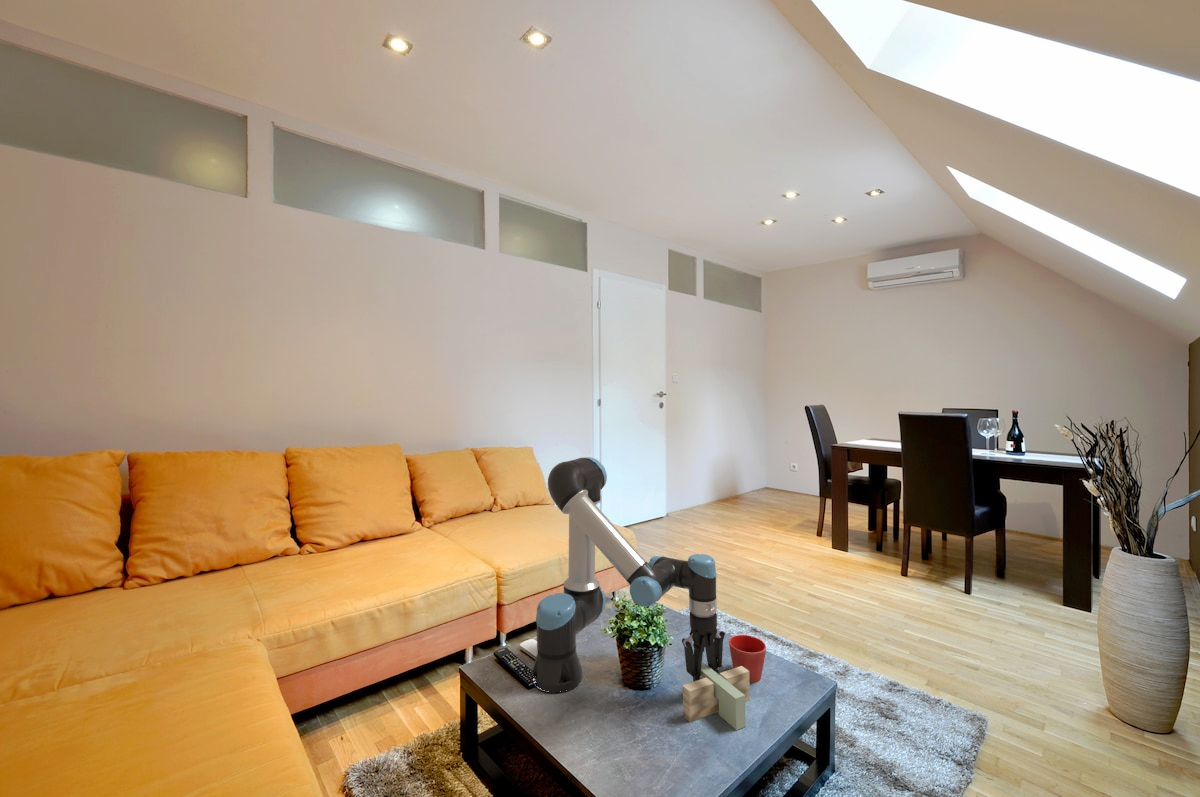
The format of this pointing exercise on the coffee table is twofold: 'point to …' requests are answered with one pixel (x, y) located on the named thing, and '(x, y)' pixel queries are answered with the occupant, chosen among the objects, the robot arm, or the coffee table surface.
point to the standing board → (711, 693)
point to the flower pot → (748, 655)
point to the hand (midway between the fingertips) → (704, 695)
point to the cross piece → (727, 698)
